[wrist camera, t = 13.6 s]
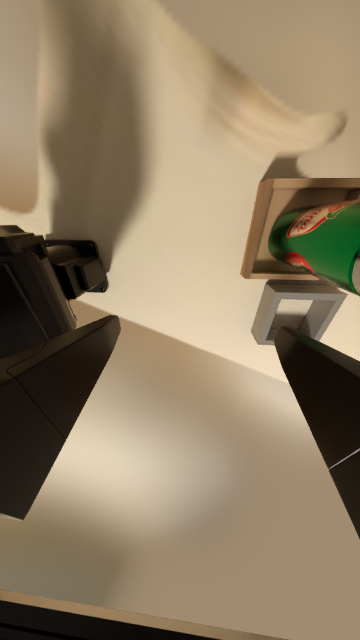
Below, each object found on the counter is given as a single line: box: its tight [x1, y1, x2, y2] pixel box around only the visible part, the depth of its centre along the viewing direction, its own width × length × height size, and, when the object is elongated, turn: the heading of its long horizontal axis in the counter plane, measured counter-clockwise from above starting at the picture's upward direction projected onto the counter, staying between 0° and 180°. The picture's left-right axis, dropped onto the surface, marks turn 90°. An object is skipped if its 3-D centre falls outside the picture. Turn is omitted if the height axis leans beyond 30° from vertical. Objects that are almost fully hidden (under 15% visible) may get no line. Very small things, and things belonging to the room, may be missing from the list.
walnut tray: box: [240, 178, 360, 280], centre depth 17 cm, size 9×9×2 cm
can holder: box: [251, 284, 348, 345], centre depth 21 cm, size 8×8×3 cm
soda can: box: [268, 199, 360, 296], centre depth 12 cm, size 5×5×12 cm
